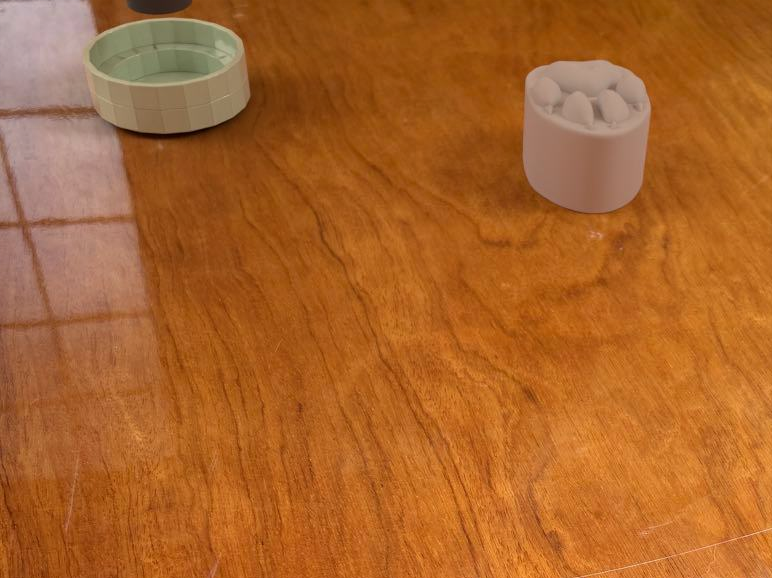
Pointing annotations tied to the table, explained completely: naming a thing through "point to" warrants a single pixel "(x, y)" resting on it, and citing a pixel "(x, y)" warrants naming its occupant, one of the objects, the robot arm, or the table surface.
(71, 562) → the table surface
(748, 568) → the table surface
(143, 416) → the table surface
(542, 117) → the lumpy-topped squat cylinder
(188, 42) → the bowl
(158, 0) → the ladle
